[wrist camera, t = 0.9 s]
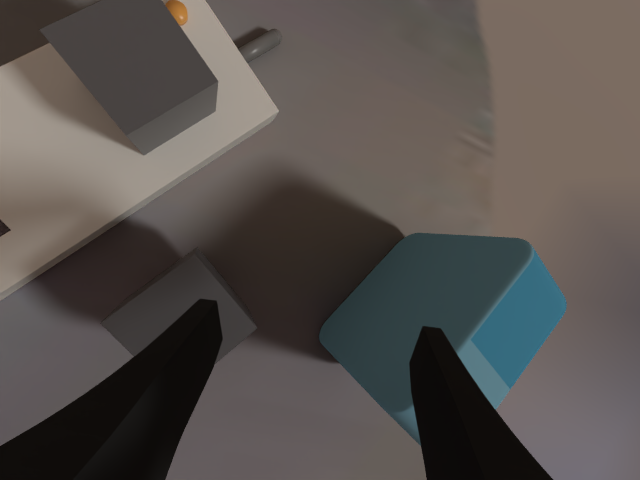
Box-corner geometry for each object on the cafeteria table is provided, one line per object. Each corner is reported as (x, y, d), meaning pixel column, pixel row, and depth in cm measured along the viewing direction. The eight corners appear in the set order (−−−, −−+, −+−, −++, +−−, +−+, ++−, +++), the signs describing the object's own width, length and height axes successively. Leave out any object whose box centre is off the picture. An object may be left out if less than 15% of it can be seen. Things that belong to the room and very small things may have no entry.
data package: (346, 368, 27) (451, 476, 15) (311, 334, 25) (397, 424, 14) (435, 266, 29) (580, 295, 18) (407, 230, 28) (544, 237, 17)
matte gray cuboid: (184, 344, 22) (175, 397, 15) (133, 291, 21) (100, 323, 14) (242, 297, 23) (257, 328, 17) (198, 244, 22) (194, 253, 15)
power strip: (-72, 348, 18) (-235, 422, 11) (-234, 216, 15) (-557, 213, 9) (313, 94, 24) (352, 48, 18) (239, -23, 22) (254, -126, 15)
